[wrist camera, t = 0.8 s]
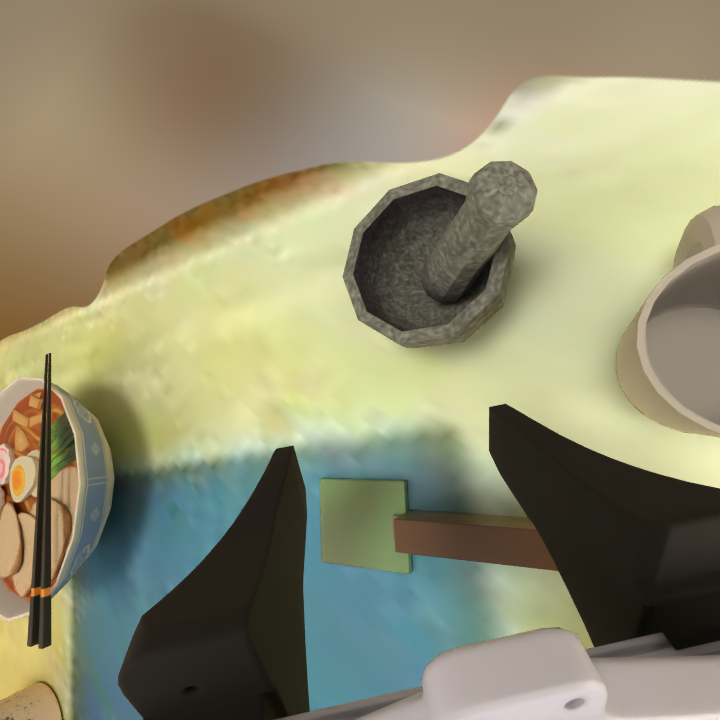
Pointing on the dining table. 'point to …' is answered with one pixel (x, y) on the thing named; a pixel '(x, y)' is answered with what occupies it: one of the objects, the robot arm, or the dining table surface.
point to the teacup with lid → (31, 704)
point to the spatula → (416, 530)
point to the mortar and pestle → (438, 254)
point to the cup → (679, 338)
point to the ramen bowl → (47, 496)
